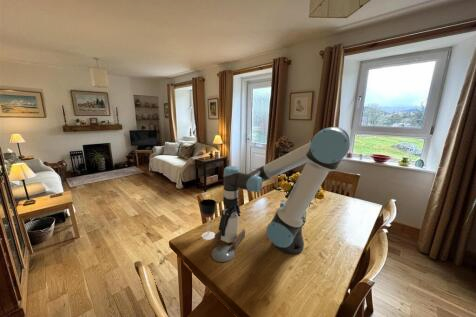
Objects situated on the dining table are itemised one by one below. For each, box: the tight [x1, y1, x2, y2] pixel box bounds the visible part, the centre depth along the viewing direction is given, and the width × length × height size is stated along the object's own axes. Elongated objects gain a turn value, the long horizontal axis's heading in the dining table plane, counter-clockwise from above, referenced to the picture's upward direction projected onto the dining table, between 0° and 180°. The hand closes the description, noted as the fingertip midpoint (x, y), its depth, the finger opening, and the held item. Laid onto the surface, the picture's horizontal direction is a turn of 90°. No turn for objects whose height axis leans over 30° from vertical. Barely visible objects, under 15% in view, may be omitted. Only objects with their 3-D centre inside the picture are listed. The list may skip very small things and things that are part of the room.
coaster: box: [211, 244, 235, 263], centre depth 92 cm, size 11×11×1 cm
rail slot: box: [214, 228, 246, 251], centre depth 102 cm, size 12×12×4 cm
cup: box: [226, 212, 240, 244], centre depth 101 cm, size 7×7×15 cm
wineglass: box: [199, 198, 217, 241], centre depth 104 cm, size 8×9×20 cm
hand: (230, 233), depth 102 cm, fingers open, 13 cm apart
